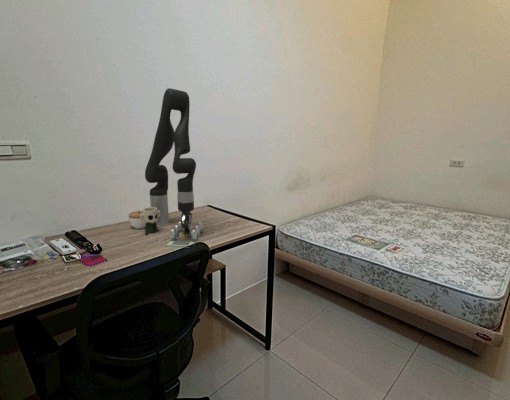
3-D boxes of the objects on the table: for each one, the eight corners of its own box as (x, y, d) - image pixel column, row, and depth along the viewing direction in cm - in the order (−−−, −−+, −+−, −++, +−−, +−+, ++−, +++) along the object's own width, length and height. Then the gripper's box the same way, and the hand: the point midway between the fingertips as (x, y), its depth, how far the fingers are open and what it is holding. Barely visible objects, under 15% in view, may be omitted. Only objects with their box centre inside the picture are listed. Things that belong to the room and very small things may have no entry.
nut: (179, 241, 138) (179, 235, 137) (179, 238, 142) (178, 232, 141) (188, 240, 139) (188, 234, 138) (187, 237, 143) (187, 231, 143)
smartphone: (88, 266, 113) (71, 255, 122) (88, 268, 113) (71, 257, 122) (108, 259, 119) (90, 249, 128) (108, 261, 119) (91, 251, 128)
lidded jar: (127, 226, 161) (125, 209, 159) (146, 223, 168) (145, 207, 165) (132, 231, 153) (131, 214, 151) (153, 228, 159) (152, 211, 157)
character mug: (145, 237, 145) (143, 212, 142) (138, 234, 149) (136, 209, 146) (164, 232, 153) (163, 208, 150) (157, 229, 157) (156, 205, 154)
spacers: (169, 241, 138) (169, 229, 137) (179, 230, 152) (178, 220, 151) (196, 241, 138) (195, 230, 136) (203, 231, 152) (203, 221, 151)
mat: (165, 248, 132) (165, 245, 132) (181, 230, 155) (181, 228, 155) (192, 249, 131) (191, 246, 131) (203, 231, 155) (203, 228, 154)
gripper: (181, 197, 146) (183, 229, 151) (173, 203, 134) (175, 239, 138) (196, 197, 146) (197, 230, 150) (189, 203, 133) (191, 239, 137)
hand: (187, 234), depth 144 cm, fingers closed
